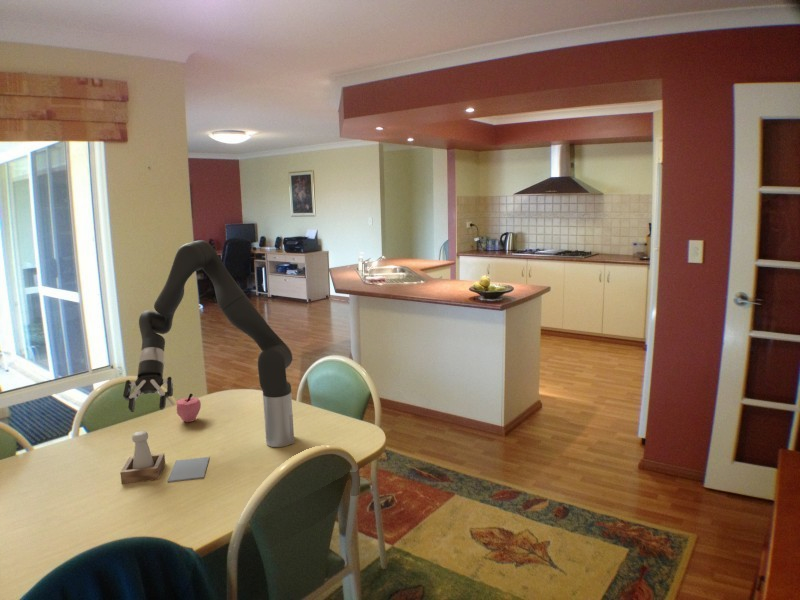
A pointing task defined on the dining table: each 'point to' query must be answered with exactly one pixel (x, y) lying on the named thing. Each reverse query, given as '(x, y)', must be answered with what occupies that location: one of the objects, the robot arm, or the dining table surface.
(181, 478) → the rubber mat
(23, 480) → the dining table surface
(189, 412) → the apple
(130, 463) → the pocket block
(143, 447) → the salt shaker
